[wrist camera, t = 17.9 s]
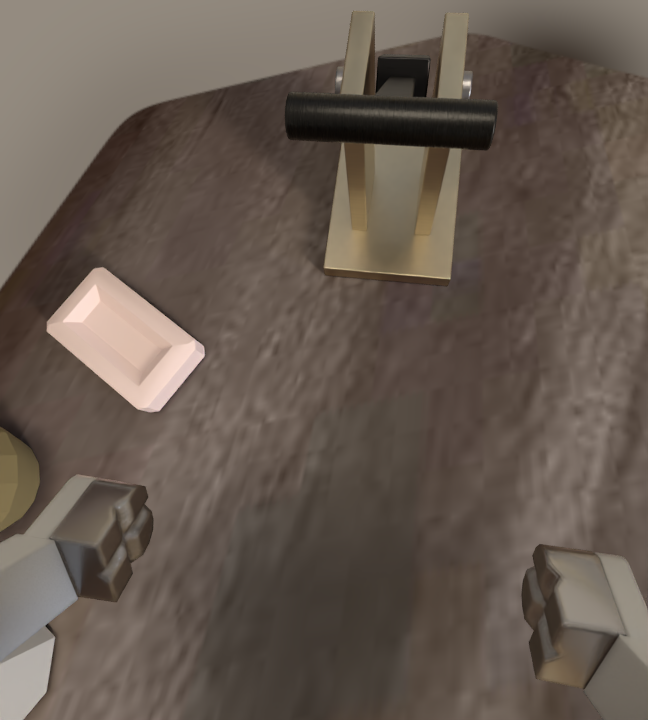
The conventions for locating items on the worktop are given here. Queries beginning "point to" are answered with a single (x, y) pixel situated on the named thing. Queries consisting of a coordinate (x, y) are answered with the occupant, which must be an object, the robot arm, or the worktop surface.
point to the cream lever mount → (396, 177)
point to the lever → (393, 112)
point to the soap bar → (125, 340)
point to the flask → (25, 675)
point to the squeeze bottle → (16, 478)
